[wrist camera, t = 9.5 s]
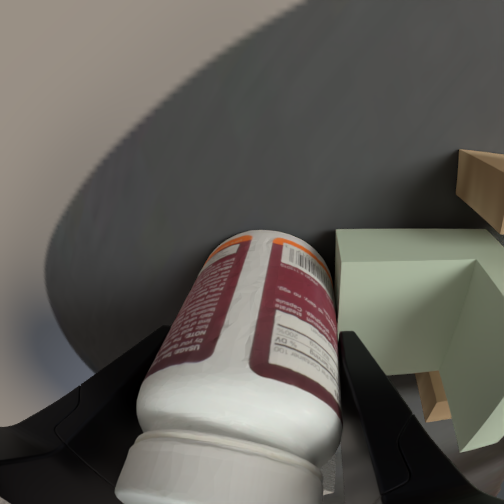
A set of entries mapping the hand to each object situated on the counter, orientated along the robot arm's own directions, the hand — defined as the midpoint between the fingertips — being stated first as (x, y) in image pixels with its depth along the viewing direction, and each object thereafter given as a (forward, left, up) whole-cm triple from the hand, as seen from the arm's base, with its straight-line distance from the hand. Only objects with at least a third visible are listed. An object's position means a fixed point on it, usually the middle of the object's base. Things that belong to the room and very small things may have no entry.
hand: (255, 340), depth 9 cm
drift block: (0, -5, -2) cm, 6 cm away
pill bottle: (0, 0, -3) cm, 3 cm away
